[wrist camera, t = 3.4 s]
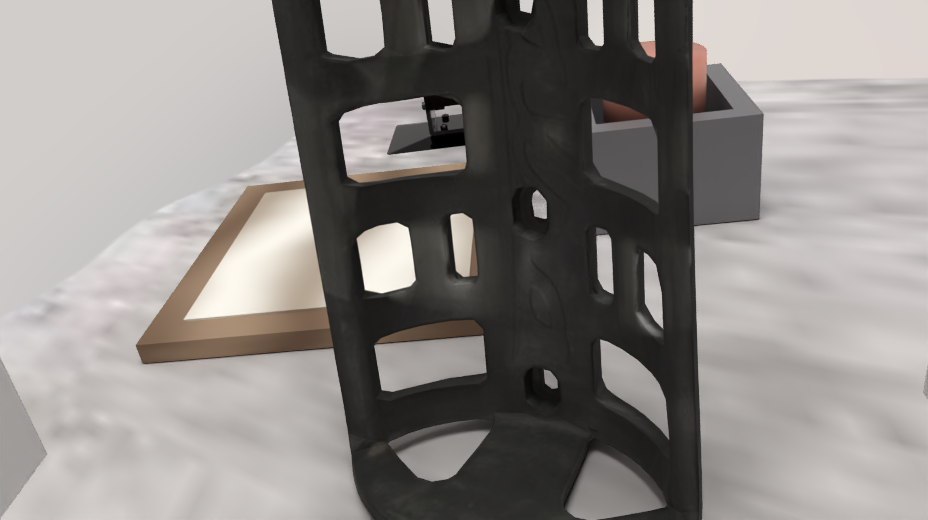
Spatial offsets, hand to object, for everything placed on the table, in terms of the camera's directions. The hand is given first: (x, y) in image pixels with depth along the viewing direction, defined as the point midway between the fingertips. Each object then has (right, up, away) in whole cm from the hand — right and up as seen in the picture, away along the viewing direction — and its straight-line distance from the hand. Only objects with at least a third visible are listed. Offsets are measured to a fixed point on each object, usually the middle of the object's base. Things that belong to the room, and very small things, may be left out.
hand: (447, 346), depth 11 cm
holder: (+2, -5, +14) cm, 15 cm away
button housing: (+10, +5, +30) cm, 32 cm away
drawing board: (-5, +2, +28) cm, 29 cm away
